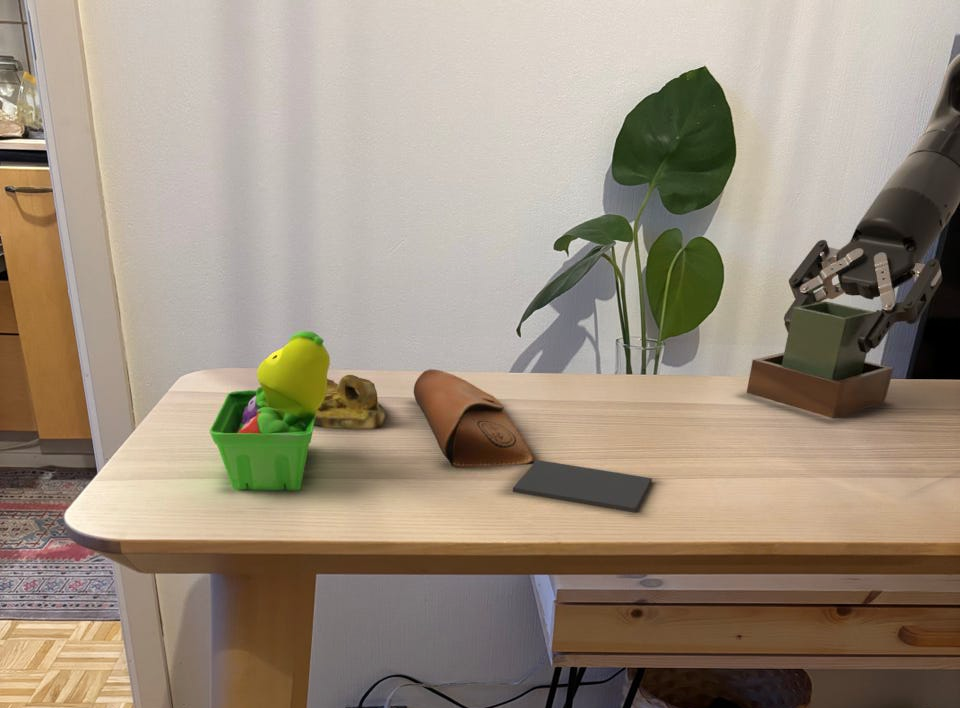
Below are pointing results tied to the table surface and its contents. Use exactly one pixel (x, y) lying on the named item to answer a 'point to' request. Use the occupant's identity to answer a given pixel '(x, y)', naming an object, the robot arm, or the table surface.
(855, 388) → the brown open box
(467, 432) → the sunglasses case
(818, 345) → the green square pen holder
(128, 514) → the table surface
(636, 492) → the felt mat
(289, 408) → the fruit basket
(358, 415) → the tan lumpy piece
